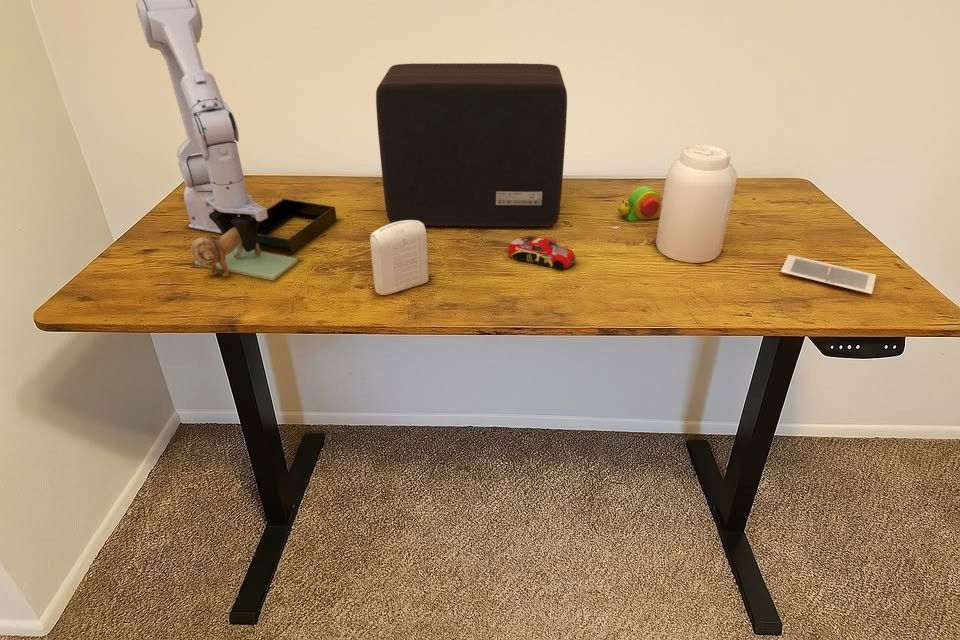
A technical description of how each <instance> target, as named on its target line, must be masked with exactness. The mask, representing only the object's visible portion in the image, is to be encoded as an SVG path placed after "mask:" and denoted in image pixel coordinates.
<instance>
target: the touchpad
mask: <svg viewBox="0 0 960 640" xmlns="http://www.w3.org/2000/svg"><path fill="white" fill-rule="evenodd" d="M780 273H784V274H788V275H792V276H795V277H801V278H804V279H807V280H813V281H817V282H821V283H825V284H829V285H833V286H838V287H841V288H846V289H850V290H852V291H853V290H854V291H857V292H861V293H866V294H870V295H872V294H873V291H874V288H875V287H874V286H875V283H876V278H877V274H875V273H870V272H867V271H862V270H857V269H853V268H849V267H846V266H845V267H844V266H842V265H841V266H840V265H835V264H831V263H827V262H823V261H819V260H815V259H811V258H810V259H809V258H806V257H802V256H797V255H793V254H788V255H787V257H786V259H785V261H784V264H783V265H782V268H781V270H780Z"/></svg>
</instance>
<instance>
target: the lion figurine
mask: <svg viewBox="0 0 960 640" xmlns="http://www.w3.org/2000/svg"><path fill="white" fill-rule="evenodd" d="M242 245H243V244H242V241H241V238H240V235H239V233H238V231H237V229H236V228H235V227H233V228H231V229H230V230H229V231H227V232H226V233H225V234H224V235H223V234H222V235H221V236H217V237H216V236H214V235H208V236H204V235H203V236H199V237H197V238H195V239H194V240H193V241H192V242H191V245H190V249H191V254H192V256H193V257H194V259H195V261H196V260H197V261H198V262H199V263H200V264H205V265H208V266H211V268H210V269H211V270H210V272H209V274H210V275H212V276H213V275H216V274H217V273H218V269H217V266H216V263H219V264H220V265H221V267H222V270H221V271H222V273H221V276H222V277H229V275H230V272H229V270H228V268H227V266H226V257H225V256H226V255H228V254H230V253H231V252H232V251H233V250H234V249H235V248H236V247H237V248H238V252H237V253H236V254H235V255H234V257H235V258H239V257H240V256H241V254H242V251H243V249H244V247H243V246H242ZM254 250H255V252H254V253H255V255H260V254H261V252H262V250H261V249H260V247H259V244H258V243H256V248H255V249H254Z"/></svg>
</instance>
